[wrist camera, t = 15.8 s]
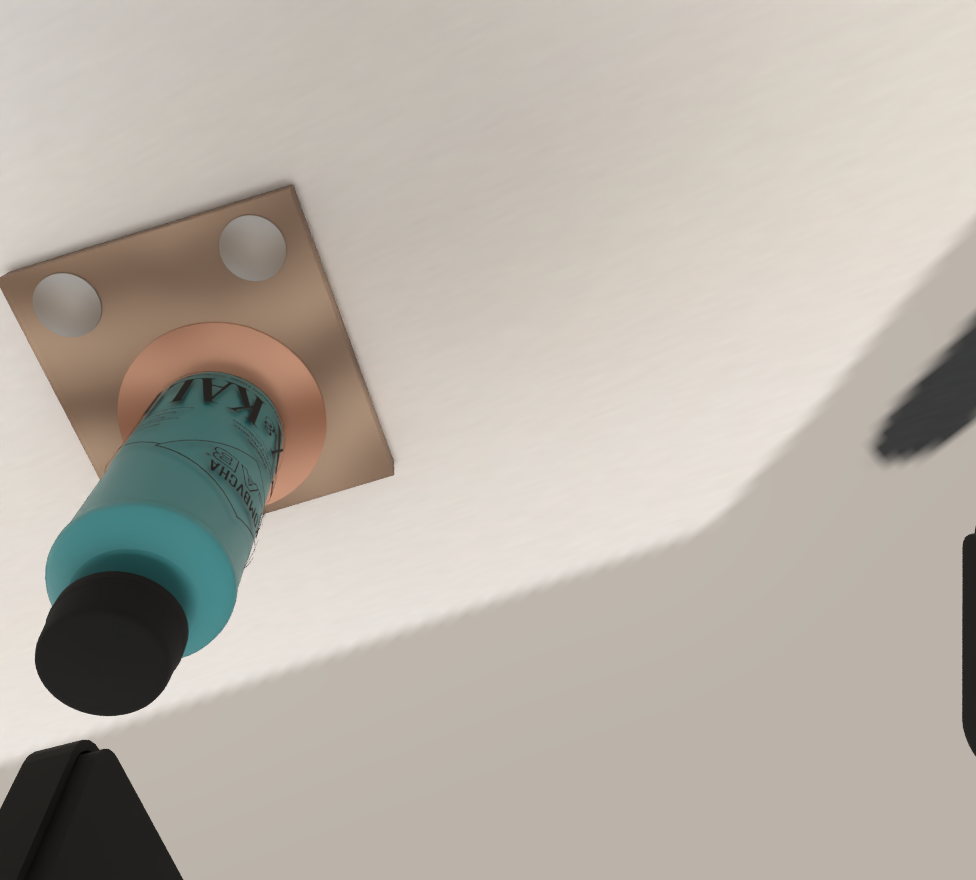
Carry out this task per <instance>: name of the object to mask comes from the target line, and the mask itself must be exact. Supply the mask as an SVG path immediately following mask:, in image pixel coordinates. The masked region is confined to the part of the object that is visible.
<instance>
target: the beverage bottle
mask: <svg viewBox="0 0 976 880" xmlns="http://www.w3.org/2000/svg"><path fill="white" fill-rule="evenodd" d="M202 372H205V373H198V372H195V373H198V374H194V375H190V376H187V377H184V378H182V379H180V380H176V379H175V380H176V382H175V381H174V380H173V381H174V382H175V383H172V385H171V384H170V386H169V385H168V386H169V387H168V388H166V387H165V386H164V387H165V388H166V390H165V391H164V390H163V391H164V392H163V391H162V390H161V391H162V392H163V393H162V392H161V393H162V394H161V393H159V394H158V395H157V396H156V398H155V399H154V400H153V402H152V401H151V402H152V403H151V404H150V406H149V407H148V408H147V410H146V411H145V410H144V411H145V412H144V414H143V415H142V414H141V415H142V416H144V415H145V414H146V413H147V414H146V415H145V417H144V418H143V419H142V418H141V419H142V420H141V419H140V420H141V421H140V423H139V422H138V423H139V424H138V423H137V424H138V426H137V425H136V426H137V428H136V429H135V430H134V429H133V430H134V431H133V430H132V432H133V433H132V434H131V433H130V434H131V435H130V434H129V435H130V437H129V438H128V437H127V438H128V440H127V441H126V440H125V441H126V443H125V444H124V445H123V444H122V445H123V446H122V445H121V446H122V448H121V447H120V448H121V449H120V448H118V450H119V449H120V451H119V452H118V453H117V452H116V453H117V455H116V456H115V455H114V456H115V458H114V459H113V461H112V462H111V464H110V466H109V468H108V470H107V471H106V472H105V474H104V475H103V477H102V478H101V480H100V481H99V482H98V484H97V485H96V487H95V488H94V490H93V491H92V492H91V494H90V495H89V497H88V498H87V499H86V501H85V502H84V504H83V505H82V507H81V508H80V509H79V511H78V512H77V514H76V515H75V516H74V518H73V519H72V521H71V522H70V523H69V524H68V525H67V526H66V527H65V528H64V529H63V530H62V532H61V533H60V534H59V536H58V537H57V539H56V540H55V542H54V544H53V546H52V548H51V550H50V552H49V555H48V558H47V563H46V571H45V580H46V588H47V593H48V596H49V600H50V602H51V605H52V608H51V609H50V612H49V614H48V616H47V619H46V624H45V626H44V628H43V630H42V632H41V634H40V637H39V639H38V642H37V645H36V651H35V665H36V669H37V673H38V675H39V677H40V679H41V681H42V683H43V684H44V686H45V687H46V688H47V689H48V691H49V692H50V693H51V694H52V695H53V696H54V697H55V698H57V699H58V700H60V701H61V702H62V703H64V704H66V705H67V706H69V707H71V708H73V709H76V710H78V711H81V712H84V713H88V714H92V715H99V716H118V715H124V714H128V713H132V712H135V711H137V710H140V709H142V708H144V707H146V706H147V705H149V704H150V703H152V702H153V701H154V700H155V699H156V698H157V697H158V696H159V695H160V694H161V693H162V691H163V690H164V689H165V687H166V686H167V684H168V682H169V680H170V678H171V676H172V674H173V672H174V670H175V669H176V667H177V666H178V664H179V663H180V661H181V658H183V657H186V656H189V655H191V654H193V653H195V652H197V651H199V650H200V649H202V648H203V647H205V646H206V645H208V644H209V643H210V642H211V641H212V640H213V639H215V637H216V636H217V635H218V634H219V633H220V632H221V631H222V630H223V628H224V627H225V625H226V624H227V622H228V620H229V618H230V616H231V614H232V612H233V609H234V606H235V602H236V598H237V591H238V586H239V583H240V580H241V577H242V573H243V570H244V568H245V566H246V565H245V564H246V562H247V560H248V558H249V555H250V552H251V549H252V545H253V542H254V543H255V540H254V539H255V537H257V534H258V530H259V527H258V526H259V523H260V522H261V521H262V519H261V518H263V517H261V516H262V513H263V509H264V510H265V507H264V506H265V503H266V500H267V496H268V493H269V490H270V486H271V483H272V488H273V489H274V487H273V484H274V483H273V482H274V480H273V477H276V474H277V467H278V461H279V457H280V454H281V452H282V451H283V449H282V443H283V432H282V431H283V430H282V428H283V427H282V425H281V421H280V418H279V416H278V413H277V411H278V410H277V411H276V409H277V408H276V409H275V407H276V406H275V407H274V405H273V404H274V403H273V402H271V401H270V400H271V399H270V398H269V397H268V396H267V395H266V394H265V393H264V392H263V391H262V390H261V389H259V388H258V387H257V386H255V385H254V384H252V383H251V382H249V381H247V380H245V379H243V378H241V377H238V376H235V375H232V374H228V373H223V372H215V371H202ZM191 374H193V373H191ZM187 375H189V374H187ZM184 376H185V375H184ZM182 377H183V376H182ZM179 378H180V377H179ZM177 379H178V378H177ZM171 382H172V381H171ZM168 384H169V383H168ZM158 397H159V398H158ZM155 401H156V402H155ZM272 403H273V404H272ZM152 405H153V406H152ZM150 408H151V409H150ZM278 412H279V411H278ZM142 416H141V417H142ZM280 417H281V416H280ZM281 419H282V418H281ZM136 422H137V421H136ZM282 422H283V421H282ZM283 425H284V424H283ZM136 426H135V427H136ZM135 427H134V428H135ZM284 430H285V428H284ZM129 431H130V430H129ZM125 438H126V437H125ZM125 438H124V439H125ZM127 438H126V439H127ZM284 440H286V434H285V438H284ZM122 441H123V440H122ZM125 441H124V442H125ZM284 445H286V444H284ZM284 447H285V446H284ZM113 453H114V452H113ZM113 453H112V454H113ZM116 453H115V454H116ZM114 456H113V457H114ZM113 457H112V458H113ZM282 457H283V456H282ZM111 460H112V459H111ZM111 460H110V461H111ZM281 462H282V461H281ZM106 464H107V463H106ZM108 464H109V463H108ZM108 464H107V465H108ZM280 464H281V463H280ZM280 466H281V465H280ZM106 467H107V466H106ZM106 467H105V469H106ZM278 468H279V467H278ZM279 469H280V468H279ZM279 469H278V470H279ZM274 473H275V476H274ZM277 476H278V475H277ZM274 479H277V478H274ZM272 480H273V481H272ZM275 483H276V481H275ZM274 486H275V484H274ZM272 488H271V494H270V498H271V495H272V492H273V490H272ZM269 500H270V499H269ZM268 502H269V501H268ZM265 512H266V511H265ZM265 512H264V513H265ZM263 515H265V514H263ZM260 519H261V521H260ZM260 525H261V523H260ZM262 525H263V524H262ZM256 533H257V534H256ZM257 543H258V542H257ZM254 550H255V549H254ZM253 552H254V551H253ZM252 554H253V553H252ZM252 559H253V558H252ZM251 561H252V560H251ZM251 561H250V562H251ZM247 563H248V562H247ZM247 566H248V565H247ZM247 566H246V567H247Z"/></svg>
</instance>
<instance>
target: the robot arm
mask: <svg viewBox="0 0 976 880" xmlns="http://www.w3.org/2000/svg"><path fill="white" fill-rule="evenodd" d="M962 608H963V609H962V610H963V614H962V616H963V618H962V622H963V623H962V626H963V628H962V636H963V637H962V640H963V641H962V643H963V644H962V645H963V646H962V647H963V649H962V654H963V655H962V660H963V661H962V669H963V670H962V671H963V672H962V681H963V682H962V696H963V697H962V706H963V707H962V721H963V729H964V732H965V736H966V739H967V741H968V744H969V746H970V748H971V749H972V751H973V753H974V755H975V756H976V528H975V533H974V534H970V535H968V536H966V537H965V540H964V541H963V607H962ZM0 880H183V878H182V876H181V875H180V873H179V871H178V869H177V867H176V865H175V864H174V862H173V860H172V858H171V856H170V854H169V852H168V851H167V849H166V847H165V845H164V843H163V842H162V840H161V838H160V836H159V834H158V832H157V830H156V829H155V827H154V825H153V823H152V821H151V819H150V817H149V816H148V814H147V812H146V810H145V808H144V806H143V804H142V803H141V801H140V799H139V797H138V795H137V793H136V792H135V790H134V788H133V786H132V784H131V782H130V781H129V779H128V777H127V775H126V773H125V771H124V769H123V768H122V766H121V764H120V762H119V760H118V758H117V757H116V755H115V754H114V753H113V752H112V751H111V750H109V749H102V750H99V749H98V747H97V746H96V744H94V743H93V742H91V741H90V740H80V741H76V742H72V743H68V744H64V745H60V746H56V747H52V748H48V749H44V750H40V751H36V752H34V753H32V754H30V755H29V756H28V757H27V758H26V760H25V761H24V763H23V764H22V766H21V768H20V770H19V773H18V775H17V776H16V778H15V780H14V783H13V784H12V786H11V788H10V790H9V792H8V795H7V796H6V798H5V801H4V803H3V805H2V807H1V809H0Z"/></svg>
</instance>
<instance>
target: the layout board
mask: <svg viewBox="0 0 976 880" xmlns="http://www.w3.org/2000/svg"><path fill="white" fill-rule="evenodd" d="M0 288H1V290H2V292H3V294H4V296H5V298H6V300H7V302H8V303H9V305H10V307H11V309H12V311H13V313H14V315H15V317H16V319H17V321H18V323H19V325H20V327H21V328H22V330H23V332H24V334H25V336H26V338H27V340H28V342H29V344H30V346H31V348H32V350H33V352H34V353H35V355H36V357H37V359H38V361H39V363H40V365H41V367H42V369H43V371H44V373H45V375H46V377H47V378H48V380H49V382H50V384H51V386H52V388H53V390H54V392H55V394H56V396H57V398H58V400H59V402H60V403H61V405H62V407H63V409H64V411H65V413H66V415H67V417H68V419H69V421H70V423H71V425H72V427H73V428H74V430H75V432H76V434H77V436H78V438H79V440H80V442H81V444H82V446H83V448H84V450H85V452H86V454H87V455H88V457H89V459H90V461H91V463H92V465H93V467H94V469H95V471H96V473H97V475H98V477H99V479H100V480H101V478H102V477H103V475H104V474H105V472H106V471H107V470H108V468H109V466H110V464H111V462H112V461H113V459H114V458H115V456H116V455H117V453H118V452H119V451H120V449H121V448H122V446H123V445H124V444H125V443H126V441H127V440H128V438H129V437H130V435H131V434H132V433H133V432H132V430H133V429H134V430H135V429H136V428H137V426H138V424H139V423H140V421H141V420H142V419H143V418H144V417H145V415H146V414H147V413H146V414H145V415H144V416H142V415H143V414H144V412H145V411H146V410H147V408H148V407H149V406H150V404H151V403H152V402H153V400H154V399H155V398H156V396H157V395H158V394H159V393H161V392H162V391H163V390H164V391H165V390H166V388H168V387H169V386H170V384H171V385H172V383H175V382H176V380H180V379H182V378H184V377H187V376H190V375H194V374H198V373H205V372H202V371H215V372H223V373H228V374H232V375H235V376H238V377H241V378H243V379H245V380H247V381H249V382H251V383H252V384H254V385H255V386H257V387H258V388H259V389H261V390H262V391H263V392H264V393H265V394H266V395H267V396H268V397H269V398H270V399H271V400H270V401H271V402H273V403H274V404H273V403H272V404H273V405H274V407H275V406H276V407H275V409H276V408H277V409H276V411H277V410H278V411H279V412H278V411H277V413H278V416H279V418H280V421H281V425H282V427H283V428H282V430H283V431H282V432H283V443H282V449H283V451H282V452H281V454H280V457H279V461H278V467H279V468H280V469H279V468H278V467H277V474H276V477H273V480H274V482H273V483H274V484H275V486H274V484H273V487H274V489H273V488H272V483H271V486H270V490H269V493H268V496H267V500H266V503H265V506H264V507H265V510H264V509H263V513H262V514H265V513H269V512H272V511H275V510H279V509H282V508H285V507H289V506H292V505H295V504H299V503H302V502H305V501H309V500H312V499H315V498H319V497H322V496H326V495H329V494H332V493H336V492H339V491H342V490H346V489H349V488H352V487H356V486H359V485H362V484H366V483H369V482H372V481H376V480H379V479H382V478H386V477H389V476H393V475H394V461H393V458H392V456H391V453H390V450H389V447H388V445H387V442H386V439H385V436H384V434H383V431H382V428H381V425H380V423H379V420H378V417H377V414H376V412H375V409H374V406H373V403H372V401H371V398H370V395H369V392H368V390H367V387H366V384H365V381H364V379H363V376H362V373H361V370H360V368H359V365H358V362H357V359H356V357H355V354H354V351H353V349H352V346H351V343H350V340H349V338H348V335H347V332H346V329H345V327H344V324H343V321H342V318H341V316H340V313H339V310H338V307H337V305H336V302H335V299H334V296H333V294H332V291H331V288H330V285H329V283H328V280H327V277H326V274H325V272H324V269H323V266H322V263H321V261H320V258H319V255H318V252H317V250H316V247H315V244H314V241H313V239H312V236H311V233H310V230H309V228H308V225H307V222H306V219H305V217H304V214H303V211H302V208H301V206H300V203H299V200H298V197H297V195H296V192H295V189H294V186H293V185H290V186H287V187H284V188H280V189H277V190H274V191H271V192H267V193H264V194H261V195H258V196H254V197H251V198H248V199H245V200H241V201H238V202H235V203H232V204H229V205H225V206H222V207H219V208H216V209H212V210H209V211H206V212H203V213H199V214H196V215H193V216H190V217H186V218H183V219H180V220H177V221H173V222H170V223H167V224H164V225H161V226H157V227H154V228H151V229H148V230H144V231H141V232H138V233H135V234H131V235H128V236H125V237H122V238H118V239H115V240H112V241H109V242H105V243H102V244H99V245H96V246H92V247H89V248H86V249H83V250H80V251H76V252H73V253H70V254H67V255H63V256H60V257H57V258H54V259H50V260H47V261H44V262H41V263H37V264H34V265H31V266H28V267H24V268H21V269H18V270H15V271H12V272H9V273H7V274H5V275H3V276H2V277H0ZM195 372H198V373H195ZM191 373H193V374H191ZM187 374H189V375H187ZM184 375H185V376H184ZM182 376H183V377H182ZM179 377H180V378H179ZM177 378H178V379H177ZM175 379H176V380H175ZM173 380H174V381H175V382H174V381H173ZM171 381H172V382H171ZM168 383H169V384H168ZM168 385H169V386H168ZM164 386H165V387H166V388H165V387H164ZM161 390H162V391H161ZM164 391H163V392H164ZM163 392H162V393H163ZM162 393H161V394H162ZM158 398H159V397H158ZM151 401H152V402H151ZM155 402H156V401H155ZM152 406H153V405H152ZM150 409H151V408H150ZM144 410H145V411H144ZM141 414H142V415H141ZM141 416H142V417H141ZM280 416H281V417H280ZM141 418H142V419H141ZM281 418H282V419H281ZM140 419H141V420H140ZM136 421H137V422H136ZM282 421H283V422H282ZM138 422H139V423H138ZM137 423H138V424H137ZM283 424H284V425H283ZM136 425H137V426H136ZM135 426H136V427H135ZM134 427H135V428H134ZM284 428H285V430H284ZM129 430H130V431H129ZM134 430H133V431H134ZM130 433H131V434H130ZM129 434H130V435H129ZM285 434H286V440H284V438H285ZM125 437H126V438H127V437H128V438H127V439H126V438H125ZM124 438H125V439H124ZM122 440H123V441H122ZM125 440H126V441H125ZM124 441H125V442H124ZM122 444H123V445H122ZM284 444H286V445H284ZM121 445H122V446H121ZM284 446H285V447H284ZM120 447H121V448H120ZM118 448H120V449H119V450H118ZM113 452H114V453H113ZM116 452H117V453H116ZM112 453H113V454H112ZM115 453H116V454H115ZM114 455H115V456H114ZM113 456H114V457H113ZM282 456H283V457H282ZM112 457H113V458H112ZM111 459H112V460H111ZM110 460H111V461H110ZM281 461H282V462H281ZM106 463H107V464H108V463H109V464H108V465H107V464H106ZM280 463H281V464H280ZM280 465H281V466H280ZM106 466H107V467H106ZM105 467H106V469H105ZM278 469H279V470H278ZM277 475H278V476H277ZM274 476H275V473H274ZM274 478H277V479H274ZM273 480H272V481H273ZM275 481H276V483H275ZM271 488H272V490H273V492H272V495H271V498H270V494H271ZM269 499H270V500H269ZM268 501H269V502H268ZM265 511H266V512H265ZM264 512H265V513H264Z"/></svg>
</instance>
